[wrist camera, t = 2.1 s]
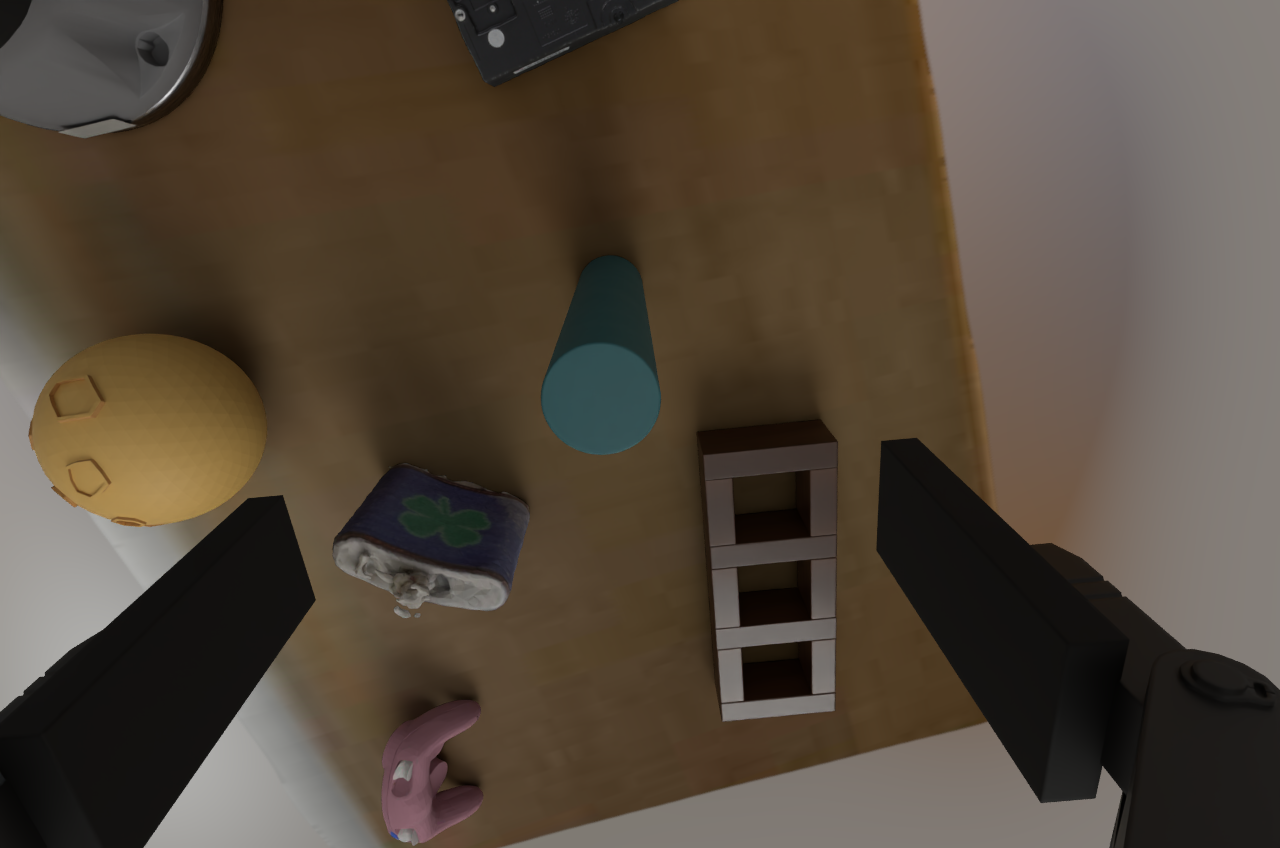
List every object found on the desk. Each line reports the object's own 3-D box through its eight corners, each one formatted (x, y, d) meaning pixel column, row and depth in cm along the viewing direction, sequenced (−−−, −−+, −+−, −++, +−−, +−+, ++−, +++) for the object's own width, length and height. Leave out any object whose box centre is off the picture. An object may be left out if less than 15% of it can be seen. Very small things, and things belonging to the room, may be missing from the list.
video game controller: (435, 676, 49) (361, 744, 43) (487, 699, 48) (416, 773, 42) (441, 777, 53) (373, 852, 47) (489, 801, 51) (424, 882, 45)
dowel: (574, 258, 37) (532, 348, 20) (639, 251, 37) (655, 335, 20) (582, 322, 39) (550, 461, 21) (645, 316, 39) (665, 449, 21)
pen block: (696, 431, 41) (702, 455, 38) (821, 419, 41) (838, 441, 38) (715, 684, 48) (721, 722, 45) (821, 674, 48) (835, 711, 45)
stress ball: (227, 285, 37) (96, 326, 28) (331, 433, 41) (246, 514, 31) (84, 361, 39) (-85, 425, 29) (197, 499, 42) (76, 595, 33)
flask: (535, 500, 43) (508, 604, 33) (522, 538, 44) (492, 651, 34) (390, 455, 41) (315, 550, 31) (379, 495, 42) (304, 600, 32)
